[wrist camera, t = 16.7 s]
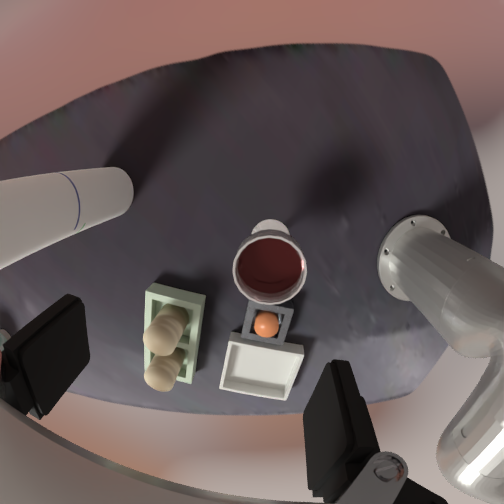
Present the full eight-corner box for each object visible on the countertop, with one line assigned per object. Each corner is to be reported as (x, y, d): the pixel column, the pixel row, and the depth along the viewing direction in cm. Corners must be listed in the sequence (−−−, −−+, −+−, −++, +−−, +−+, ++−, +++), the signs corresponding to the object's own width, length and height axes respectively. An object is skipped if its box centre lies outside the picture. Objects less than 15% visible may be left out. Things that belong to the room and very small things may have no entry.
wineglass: (276, 201, 36) (278, 219, 24) (307, 244, 37) (321, 279, 26) (233, 232, 37) (216, 263, 26) (264, 272, 39) (261, 317, 27)
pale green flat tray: (206, 295, 40) (201, 305, 37) (195, 372, 45) (191, 383, 42) (153, 282, 40) (145, 290, 37) (150, 359, 45) (144, 370, 42)
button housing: (292, 300, 40) (294, 309, 37) (282, 336, 41) (282, 345, 39) (250, 292, 40) (249, 300, 37) (242, 328, 41) (240, 337, 39)
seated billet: (190, 306, 40) (176, 332, 33) (187, 331, 41) (174, 359, 34) (161, 299, 40) (143, 323, 33) (160, 324, 41) (143, 350, 34)
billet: (186, 345, 42) (173, 374, 35) (184, 365, 43) (172, 394, 37) (159, 338, 42) (143, 364, 35) (159, 358, 43) (144, 386, 37)
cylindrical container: (141, 181, 36) (-9, 216, 12) (121, 225, 38) (-14, 298, 14) (104, 158, 35) (-46, 174, 12) (86, 202, 37) (-52, 250, 14)
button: (280, 310, 39) (281, 319, 37) (275, 329, 40) (275, 339, 38) (258, 305, 39) (257, 315, 37) (253, 324, 40) (252, 334, 38)
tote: (303, 345, 42) (304, 354, 39) (285, 390, 45) (286, 400, 42) (231, 331, 42) (228, 340, 39) (221, 378, 45) (219, 388, 42)
